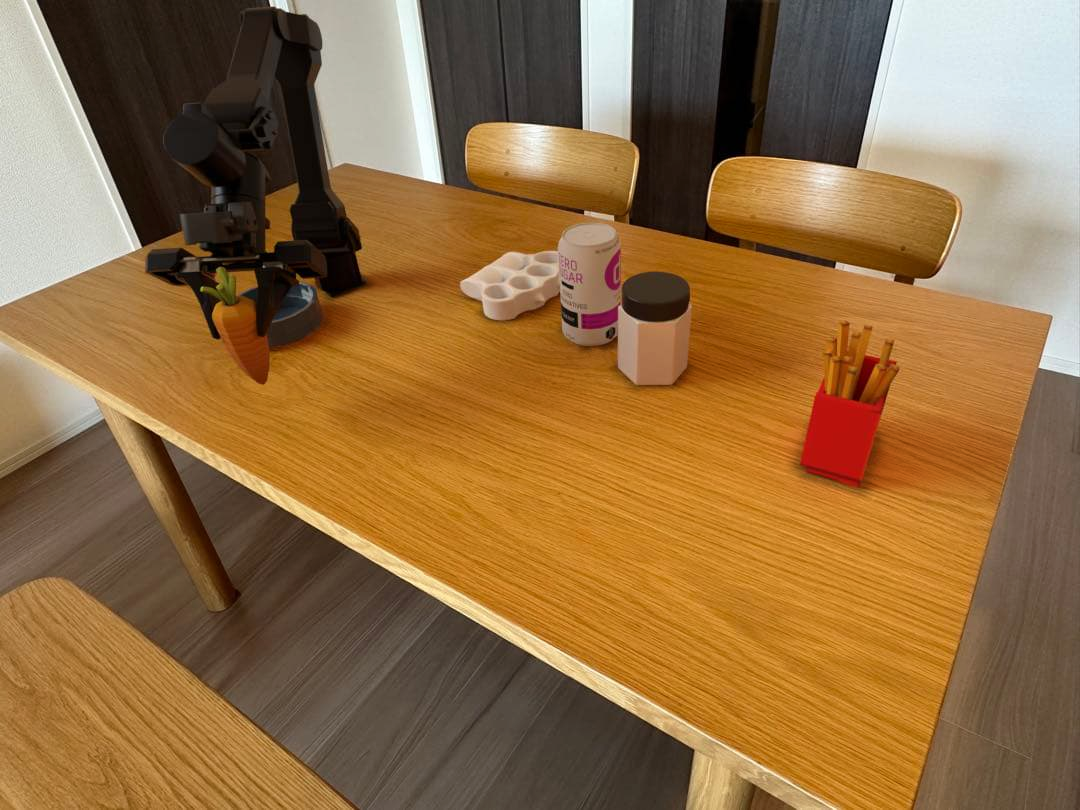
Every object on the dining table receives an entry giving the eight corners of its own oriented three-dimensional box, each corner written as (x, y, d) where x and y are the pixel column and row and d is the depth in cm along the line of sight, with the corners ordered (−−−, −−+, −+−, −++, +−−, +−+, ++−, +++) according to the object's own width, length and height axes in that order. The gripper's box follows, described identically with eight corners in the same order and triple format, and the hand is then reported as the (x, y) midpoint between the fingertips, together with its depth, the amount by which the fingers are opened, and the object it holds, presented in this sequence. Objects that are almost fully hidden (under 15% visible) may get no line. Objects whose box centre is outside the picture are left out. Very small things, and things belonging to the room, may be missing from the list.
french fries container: (792, 469, 74) (815, 361, 66) (812, 420, 80) (835, 316, 72) (862, 490, 71) (896, 380, 63) (877, 437, 77) (910, 330, 69)
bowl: (303, 297, 113) (296, 271, 110) (338, 327, 104) (331, 301, 101) (223, 326, 107) (212, 301, 104) (252, 362, 98) (242, 335, 95)
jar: (698, 375, 89) (706, 292, 81) (644, 395, 86) (647, 311, 79) (659, 343, 95) (663, 263, 88) (608, 360, 93) (607, 280, 85)
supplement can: (628, 323, 100) (629, 224, 91) (608, 353, 94) (607, 251, 85) (576, 313, 103) (572, 217, 94) (553, 342, 97) (547, 243, 88)
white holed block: (518, 258, 118) (590, 278, 111) (447, 304, 108) (521, 329, 100) (517, 240, 116) (589, 259, 109) (444, 285, 105) (519, 309, 98)
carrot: (271, 398, 81) (227, 284, 72) (234, 395, 82) (185, 282, 73) (291, 373, 85) (252, 262, 76) (255, 370, 86) (212, 261, 77)
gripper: (113, 179, 72) (110, 326, 70) (290, 167, 71) (291, 315, 70) (174, 219, 83) (173, 347, 81) (328, 209, 82) (329, 338, 81)
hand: (238, 337), depth 78 cm, fingers closed on carrot, 5 cm apart
